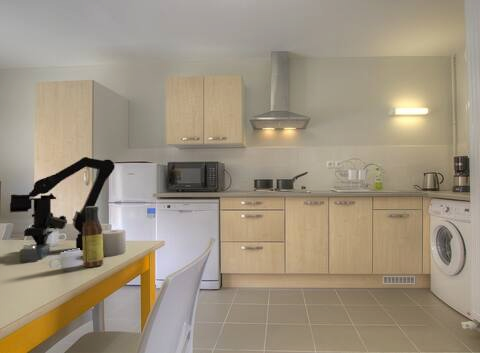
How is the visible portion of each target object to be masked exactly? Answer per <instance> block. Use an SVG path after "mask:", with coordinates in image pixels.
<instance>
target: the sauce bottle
mask: <svg viewBox="0 0 480 353" xmlns="http://www.w3.org/2000/svg"><path fill="white" fill-rule="evenodd" d="M85 212H86V221H85V224H84V225H83V228H82V231H83V236H82V241H83V250H82V262H83V263H82V264H83V266H84V267H86V268H95V267H99V266H102V265H103V264H104V256H103V231H104V230H103V228H102V225H101V223H100V220H99V213H98V212H99V207H98V206H96V205H95V206H90V207H85Z"/></svg>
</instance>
